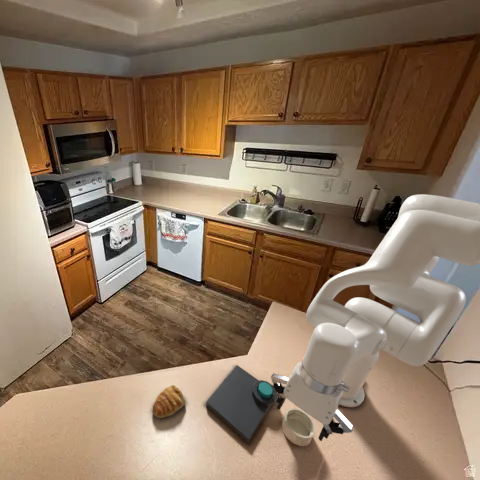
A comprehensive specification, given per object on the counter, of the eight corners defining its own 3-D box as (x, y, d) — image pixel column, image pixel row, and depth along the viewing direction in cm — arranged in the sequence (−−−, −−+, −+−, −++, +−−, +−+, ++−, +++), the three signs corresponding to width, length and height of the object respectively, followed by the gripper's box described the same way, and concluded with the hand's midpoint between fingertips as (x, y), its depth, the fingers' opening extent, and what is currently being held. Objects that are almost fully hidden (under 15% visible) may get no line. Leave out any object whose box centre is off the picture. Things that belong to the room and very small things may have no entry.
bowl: (287, 411, 71) (291, 402, 69) (314, 431, 67) (319, 422, 65) (277, 431, 67) (280, 422, 65) (304, 454, 63) (309, 444, 60)
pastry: (162, 427, 69) (161, 419, 67) (147, 407, 73) (146, 399, 72) (187, 403, 74) (187, 396, 72) (172, 386, 78) (171, 378, 77)
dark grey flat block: (236, 368, 83) (237, 360, 81) (278, 398, 74) (281, 391, 73) (206, 405, 73) (206, 398, 72) (250, 445, 64) (252, 438, 63)
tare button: (261, 383, 75) (262, 379, 74) (273, 392, 73) (274, 388, 72) (255, 392, 73) (256, 388, 72) (267, 401, 71) (268, 397, 70)
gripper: (372, 390, 52) (344, 435, 60) (286, 341, 63) (272, 385, 71) (364, 418, 48) (335, 463, 55) (272, 360, 58) (259, 404, 66)
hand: (300, 419), depth 63 cm, fingers open, 9 cm apart
